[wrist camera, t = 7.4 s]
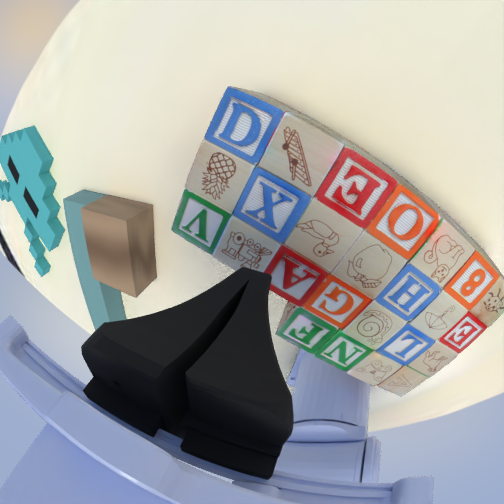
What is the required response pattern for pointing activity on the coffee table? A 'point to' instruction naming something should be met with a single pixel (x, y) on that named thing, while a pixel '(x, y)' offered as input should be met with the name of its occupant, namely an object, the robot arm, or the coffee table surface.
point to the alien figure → (31, 190)
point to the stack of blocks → (338, 243)
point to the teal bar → (95, 292)
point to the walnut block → (120, 243)
